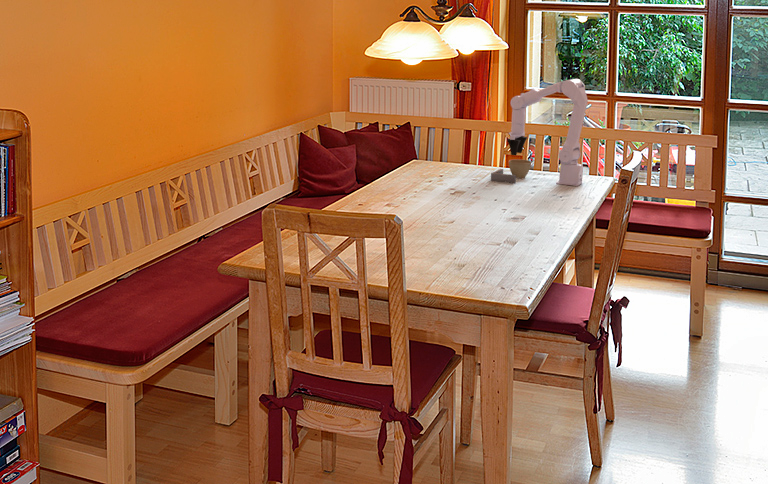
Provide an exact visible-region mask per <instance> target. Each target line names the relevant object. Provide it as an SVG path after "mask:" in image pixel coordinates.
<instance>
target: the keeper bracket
mask: <svg viewBox="0 0 768 484" xmlns="http://www.w3.org/2000/svg"><path fill="white" fill-rule="evenodd" d="M516 180H517V178H516V175H512V174H509V173H508V174H507V173H504V168H499V169H497V170H495V171H492V172H491V173H490V182H496V183H504V184H516V183H517V181H516Z"/></svg>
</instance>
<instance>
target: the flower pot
mask: <svg viewBox="0 0 768 484" xmlns="http://www.w3.org/2000/svg"><path fill="white" fill-rule="evenodd" d="M531 165H532V161H531V160H527V159H518V158H517V159H509V160H508V168H509V170H510V173H511V175H516V179H525V178H526V177H527V175H528V173H529V171H530V169H531Z"/></svg>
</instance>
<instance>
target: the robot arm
mask: <svg viewBox="0 0 768 484" xmlns="http://www.w3.org/2000/svg"><path fill="white" fill-rule="evenodd" d="M555 93H559V94H560V93H561V94H562V93H563V95H564V96H566V97H567V98H569V99H570V100H571V102H572V104H573V107H572V111H571V116H570V121H569V125H568V131H567V135H566V139H565V140H564V141H565V142H564V143H563V145H562V148H561V149H560V150H559V152H558V159H559V160H560V163H559V164H560V166H559V178H558V179H559V180H558V181H556V182H555V183H556V184H557V185H567V186H575V187H578V186H580V185H581V184H583V173H584V165H583V164H580V163H579V162H578V160H579V159H580V158H581V143H580V138H581V133H582V129H583V124H584V121H585V115H586V110H587V105H588V101H589V100H588V99H589V98H588V96H587V93H586V85H585V84H584V83H583V81H582V80H581V79H579V78H572V79H567V80H563V81H558V82H556V83H554V84H551V85H549V86H546V87H544V88H542V89H538V88H531V89H529V91H526V92H525V93H524V92H521V93H520V95H515V96H513V97H512V98H511V99H510V107H511V111H512V112H511V127H510V130H511V131H510V132H508V135H509V138H507V139H506V140H507V143H508V145H509V149H510V155H511V156H517V154H522V153H523V151H524V146H525V143H526V142H527V139H528V136H526V132H525V128H526V127H525V124H526V108H527V107H530V106H532V105H534V104H538V103H539V102H541V101H542V99H543V98H544V97H546V96H550V95H553V94H555Z"/></svg>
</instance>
